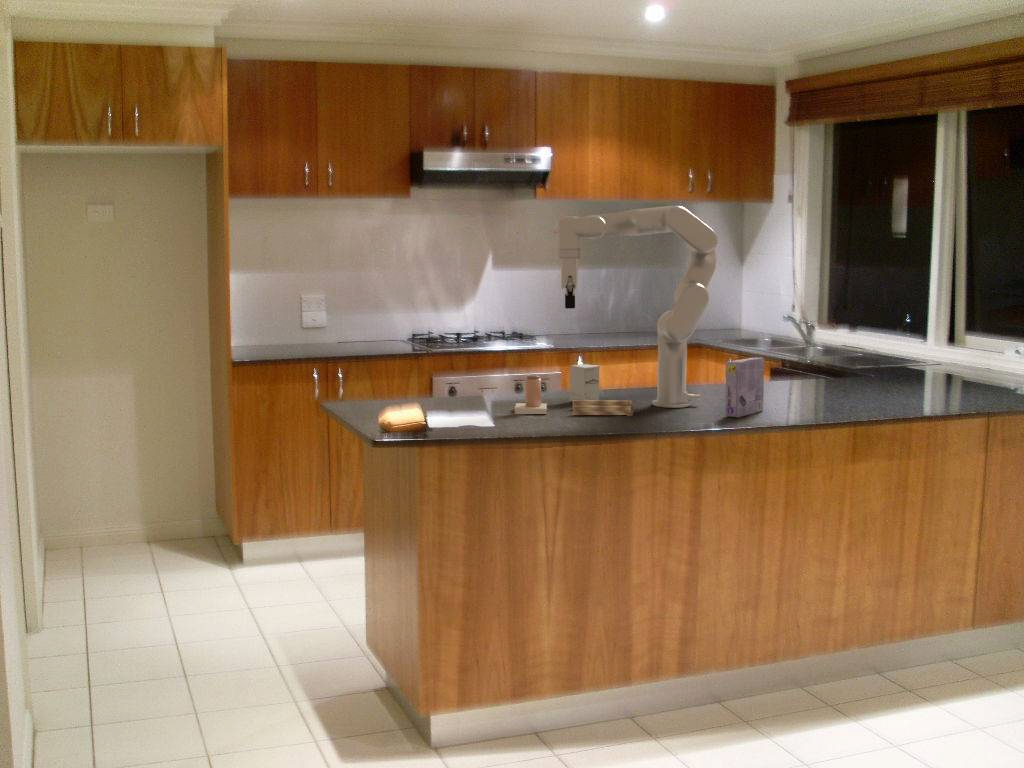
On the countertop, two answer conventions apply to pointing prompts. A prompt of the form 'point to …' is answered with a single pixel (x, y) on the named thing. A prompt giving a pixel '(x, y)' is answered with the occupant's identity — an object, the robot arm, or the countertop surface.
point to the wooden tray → (602, 407)
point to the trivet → (530, 409)
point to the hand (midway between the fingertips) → (569, 307)
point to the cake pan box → (744, 387)
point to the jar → (533, 391)
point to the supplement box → (584, 382)
